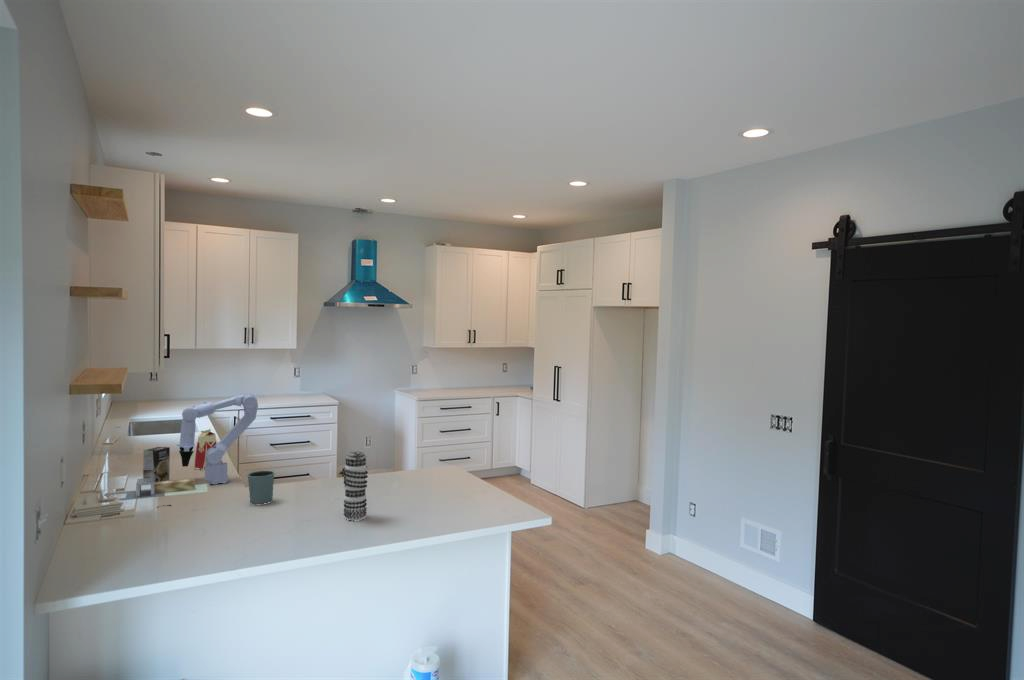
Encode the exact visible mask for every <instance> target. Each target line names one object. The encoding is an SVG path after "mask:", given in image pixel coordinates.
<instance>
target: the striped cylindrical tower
mask: <svg viewBox="0 0 1024 680" xmlns="http://www.w3.org/2000/svg"><path fill="white" fill-rule="evenodd" d="M367 457H368V456H367V455H365V453H364V452H363V451H350V452H348V454H347V455H345V457H344V458H345V464H344V465H345V466H344V467H343V475H344V476H343V484H344V487H343V489H345V494H344V500H343V507H344V508H343V516H344V517H343V519H344V518H345V519H347V520H352V521H351V522H354V521H353V520H360V521H363V520H362V519H364V520H366V519H367V512H368V511H367V509H368V508H367V507H366V506H367V504H368V503H367V501H368V500H367V498H366V497H367V495H366V489H367V487H368V484H367V483H368V480H366V479H367V478H368V477H369V476H368V475H367V474H368V473H369V471H367V470H366V469H367V468H368V466H367ZM347 520H346V521H347Z"/></svg>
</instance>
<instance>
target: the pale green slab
mask: <svg viewBox="0 0 1024 680" xmlns="http://www.w3.org/2000/svg"><path fill="white" fill-rule="evenodd" d="M208 492H209V489H208V484H207V483H203V484H195V490H190V491H179V492H169V493H159V494H154V496H151V488H148V489H141V492H140V497H136V490H129V491H117V492H105V493H104V495H103V497H104V496H106V497H108V499H109V498H110V496H111V495H121V494H126V495H125V497H122V498H118V499H119V500H120V501H127V500H128V501H129V500H138V499H149V498H158V497H169V496H179V495H189V494H198V493H200V494H201V493H208Z"/></svg>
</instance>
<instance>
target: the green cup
mask: <svg viewBox="0 0 1024 680" xmlns="http://www.w3.org/2000/svg"><path fill="white" fill-rule="evenodd" d="M247 483H248V490H249V491H248V493H249V503H252V504H264V503H268V502H271V501H272V500H274V497H273V496H274V492H273V491H274V483H275V471H273V470H257V471H252V472H250V473H248V474H247ZM272 502H273V501H272ZM272 502H271V503H272ZM252 504H251V505H252Z"/></svg>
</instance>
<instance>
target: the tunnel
mask: <svg viewBox="0 0 1024 680" xmlns="http://www.w3.org/2000/svg"><path fill="white" fill-rule="evenodd" d="M135 485H136V486H135V487H136V488H135V491H136V497H140V492H141V490H142V486H148V485H149V486H150V489H151V496H154V491H155V477H153V478H143V477H142V478H137V481H136V484H135Z"/></svg>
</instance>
